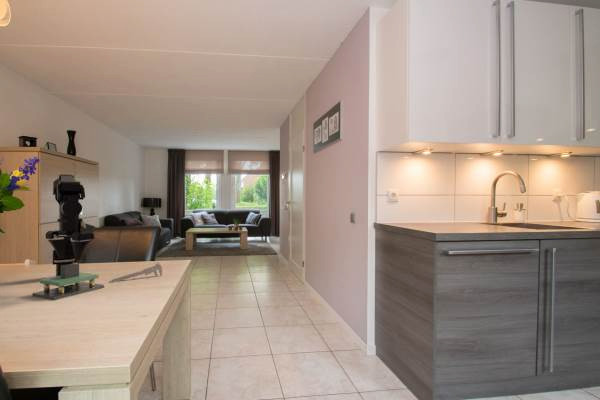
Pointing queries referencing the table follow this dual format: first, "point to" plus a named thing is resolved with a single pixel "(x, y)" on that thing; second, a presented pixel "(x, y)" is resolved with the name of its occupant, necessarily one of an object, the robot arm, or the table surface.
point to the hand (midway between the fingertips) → (69, 259)
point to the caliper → (145, 271)
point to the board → (68, 281)
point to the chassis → (67, 290)
